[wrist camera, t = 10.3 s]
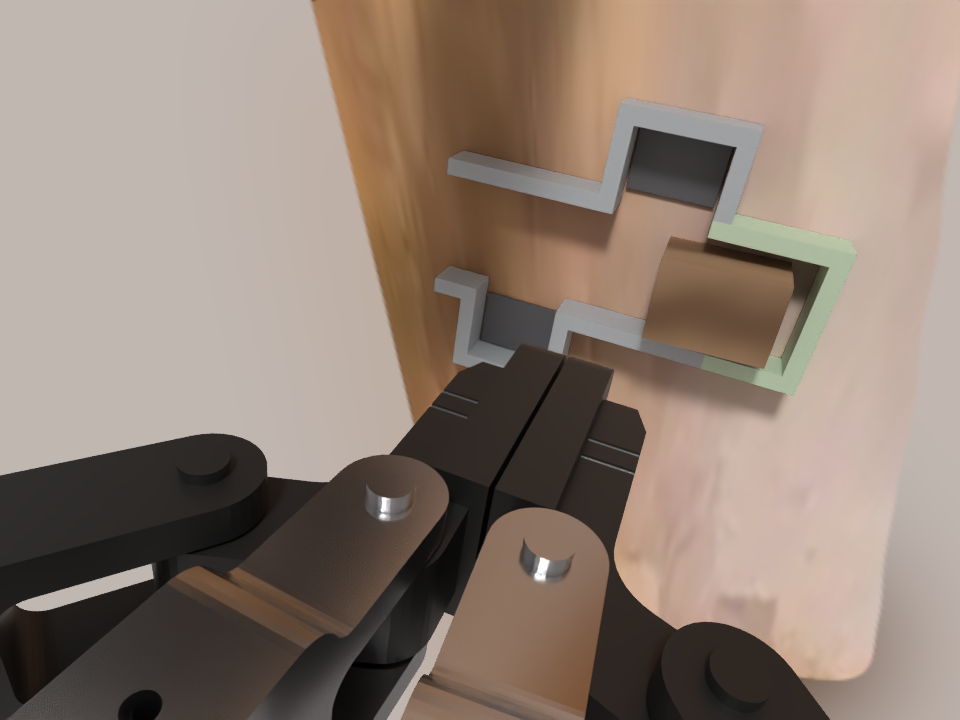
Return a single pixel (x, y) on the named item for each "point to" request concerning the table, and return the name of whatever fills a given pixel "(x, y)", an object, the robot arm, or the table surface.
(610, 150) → the track
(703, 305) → the block
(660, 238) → the table surface
